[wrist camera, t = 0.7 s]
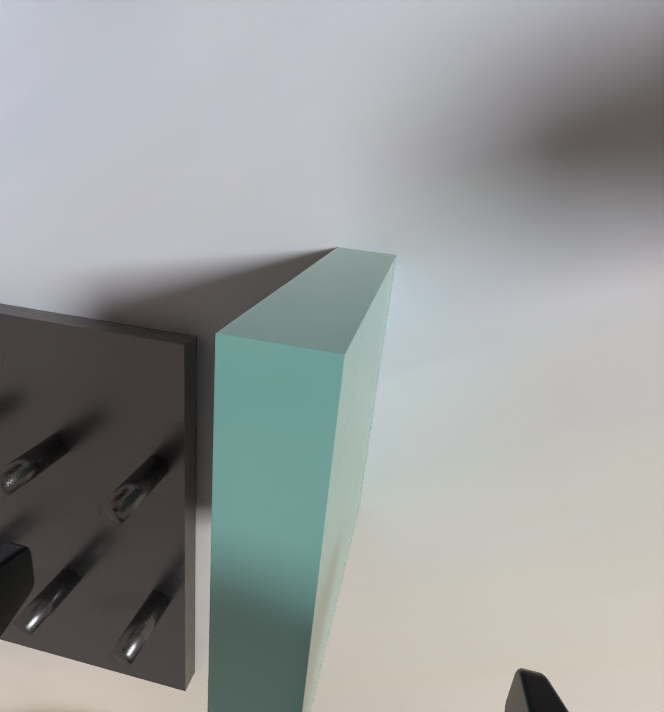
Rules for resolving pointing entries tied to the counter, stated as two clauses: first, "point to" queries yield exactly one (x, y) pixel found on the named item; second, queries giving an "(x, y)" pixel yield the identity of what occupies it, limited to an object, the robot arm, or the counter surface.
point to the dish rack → (101, 489)
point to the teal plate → (290, 475)
